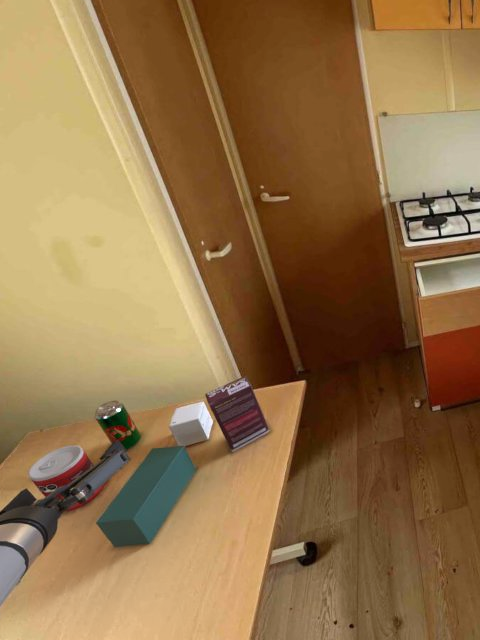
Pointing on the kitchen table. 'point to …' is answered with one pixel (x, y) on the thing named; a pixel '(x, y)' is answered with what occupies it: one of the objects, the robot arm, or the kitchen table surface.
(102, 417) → the soda can
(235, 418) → the supplement box
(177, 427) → the product box
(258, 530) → the kitchen table surface
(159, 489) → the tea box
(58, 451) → the canned food
